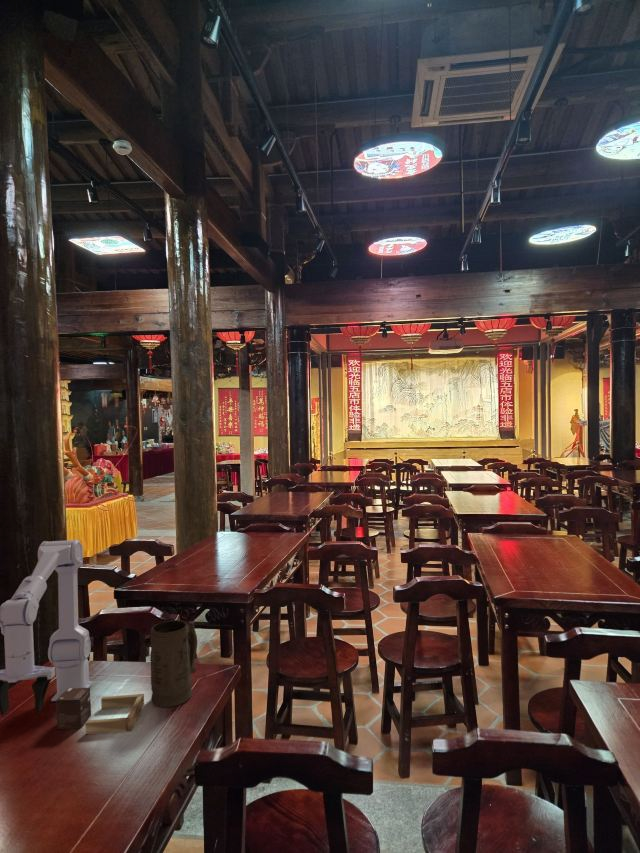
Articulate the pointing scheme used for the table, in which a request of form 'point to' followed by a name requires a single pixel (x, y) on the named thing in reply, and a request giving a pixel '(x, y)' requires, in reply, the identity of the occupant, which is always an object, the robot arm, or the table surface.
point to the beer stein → (172, 662)
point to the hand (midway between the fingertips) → (22, 711)
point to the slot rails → (117, 723)
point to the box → (73, 708)
